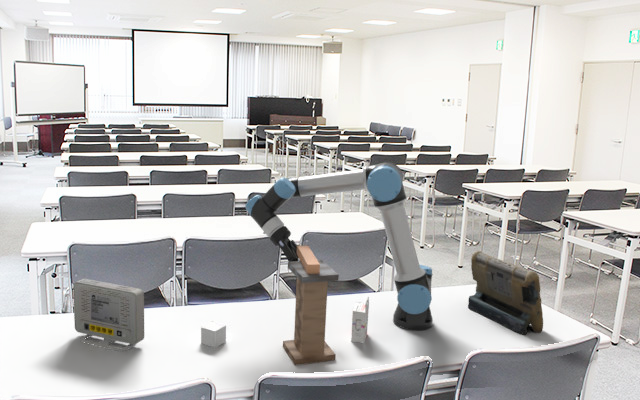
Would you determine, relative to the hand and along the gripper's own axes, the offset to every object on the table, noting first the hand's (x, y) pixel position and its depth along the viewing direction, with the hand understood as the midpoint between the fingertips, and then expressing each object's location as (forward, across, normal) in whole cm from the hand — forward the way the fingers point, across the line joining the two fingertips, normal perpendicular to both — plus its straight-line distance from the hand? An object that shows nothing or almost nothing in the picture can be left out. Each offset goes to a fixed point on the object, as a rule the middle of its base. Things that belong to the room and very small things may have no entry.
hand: (313, 276), depth 204 cm
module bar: (-3, +14, +4) cm, 15 cm away
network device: (-26, +26, -64) cm, 73 cm away
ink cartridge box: (+27, -7, -3) cm, 28 cm away
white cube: (-4, +14, -39) cm, 42 cm away
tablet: (+58, -44, +39) cm, 83 cm away
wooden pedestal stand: (+20, +11, -16) cm, 27 cm away
